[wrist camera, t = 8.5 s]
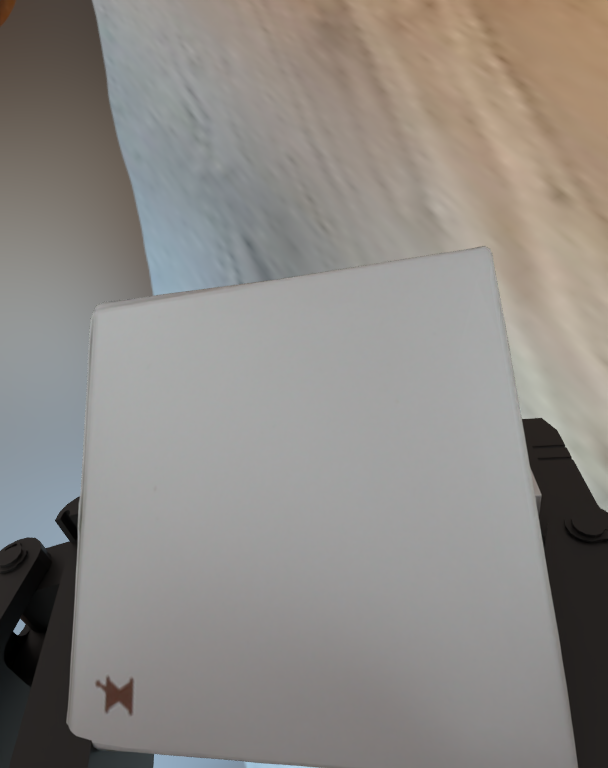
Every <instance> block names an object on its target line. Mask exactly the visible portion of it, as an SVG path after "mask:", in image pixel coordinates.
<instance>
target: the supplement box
mask: <svg viewBox="0 0 608 768" xmlns="http://www.w3.org/2000/svg"><path fill="white" fill-rule="evenodd" d="M66 723H67V724H68V726H69V729H70V731H71V732H72V733H73V734H75V735H76V736H78V737H81V738H85V739H88V740H92V744H93V747H94V748H96V749H98V750H100V751H120V752H138V753H150V754H161V755H173V756H186V757H198V758H211V759H224V760H235V761H245V762H255V763H267V764H283V765H296V766H307V767H319V768H578V763H577V756H576V748H575V741H574V733H573V726H572V719H571V712H570V705H569V698H568V691H567V684H566V678H565V672H564V667H563V661H562V654H561V647H560V640H559V635H558V629H557V623H556V618H555V612H554V606H553V600H552V595H551V589H550V583H549V577H548V571H547V565H546V559H545V553H544V547H543V541H542V535H541V529H540V523H539V517H538V511H537V505H536V499H535V493H534V488H533V482H532V476H531V470H530V464H529V458H528V453H527V447H526V441H525V435H524V429H523V423H522V417H521V412H520V406H519V400H518V394H517V389H516V383H515V377H514V371H513V366H512V360H511V354H510V349H509V343H508V337H507V331H506V326H505V320H504V315H503V310H502V305H501V299H500V294H499V289H498V284H497V279H496V273H495V268H494V263H493V255H492V252H491V250H490V249H489V248H488V247H486V246H482V247H476V248H471V249H466V250H459V251H453V252H446V253H439V254H433V255H427V256H420V257H414V258H408V259H402V260H395V261H389V262H383V263H377V264H371V265H365V266H358V267H352V268H346V269H340V270H333V271H327V272H320V273H314V274H308V275H302V276H296V277H289V278H283V279H277V280H269V281H262V282H254V283H247V284H239V285H232V286H224V287H217V288H209V289H201V290H194V291H186V292H178V293H170V294H163V295H156V296H149V297H142V298H135V299H127V300H119V301H110V302H103V303H101V304H98V305H96V307H95V309H94V312H93V314H92V317H91V322H90V337H89V350H88V382H87V395H86V410H85V426H84V445H83V464H82V480H81V495H80V500H79V510H78V549H77V566H76V584H75V604H74V621H73V636H72V651H71V665H70V686H69V701H68V712H67V720H66Z"/></svg>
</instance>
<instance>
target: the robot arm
mask: <svg viewBox="0 0 608 768" xmlns="http://www.w3.org/2000/svg"><path fill="white" fill-rule="evenodd" d="M522 423H523V429H524V435H525V441H526V447H527V453H528V458H529V464H530V470H531V476H532V482H533V488H534V493H535V499H536V505H537V511H538V517H539V523H540V529H541V535H542V541H543V547H544V553H545V559H546V565H547V571H548V577H549V583H550V589H551V595H552V600H553V606H554V612H555V618H556V623H557V629H558V635H559V640H560V647H561V654H562V661H563V667H564V672H565V678H566V684H567V691H568V698H569V705H570V712H571V719H572V726H573V733H574V741H575V748H576V756H577V763H578V768H608V512H606V511H604V510H603V509H600V507H599V506H598V505H597V503H596V501H595V499H594V497H593V496H592V494H591V492H590V490H589V488H588V486H587V484H586V483H585V481H584V479H583V477H582V475H581V473H580V472H579V470H578V468H577V466H576V464H575V462H574V461H573V460H572V459H571V455H570V453H569V451H568V450H567V448H565V444H564V442H563V440H562V438H561V437H560V435H559V433H558V431H557V430H556V429H555V428H554V427H552V426H551V425H550V424H548V423H547V422H546V421H545V420H543V419H542V418H535V419H522ZM79 500H80V497H77V498H76V499H74V500H73V501H71V502H70V503H69V504H67V505H66V506H65V507H64V508H63V509H62V510H61V511H60V513H59V514H58V516H57V518H56V520H55V521H56V523H57V524H58V525H59V527H60V528H61V530H62V531H63V532H64V534H65V535H66V537H67V538H68V539H69V541H70V542H66V543H63V544H59V545H56V546H52V547H49V548H45V547H44V546H43V545H42V543H41V542H40V541H39V540H37V539H36V538H24V539H20V540H17V541H15V542H14V543H11V544H9V545H8V546H6V547H5V548H3V549H2V550H1V551H0V768H153V763H154V762H153V761H154V754H150V753H138V752H120V751H100V750H98V749H96V748H94V747H93V744H92V740H88V739H85V738H81V737H78V736H76V735H75V734H73V733H72V732H71V731H70V729H69V726H68V724H67V723H66V720H67V712H68V701H69V686H70V665H71V651H72V636H73V621H74V604H75V584H76V566H77V549H78V510H79ZM19 619H21V620H22V621H23V622H24V623H25V624H26V625H25V627H24V629H23V630H22V631H21V633H20V634H19V635H16V634H15V633H14V632H13V630H14V628H15V627H16V625H17V623H18V621H19Z"/></svg>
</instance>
